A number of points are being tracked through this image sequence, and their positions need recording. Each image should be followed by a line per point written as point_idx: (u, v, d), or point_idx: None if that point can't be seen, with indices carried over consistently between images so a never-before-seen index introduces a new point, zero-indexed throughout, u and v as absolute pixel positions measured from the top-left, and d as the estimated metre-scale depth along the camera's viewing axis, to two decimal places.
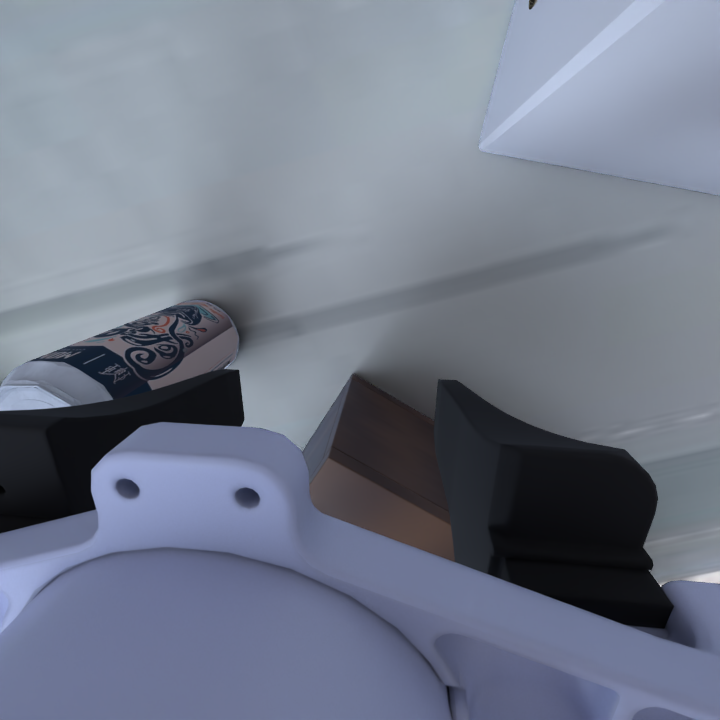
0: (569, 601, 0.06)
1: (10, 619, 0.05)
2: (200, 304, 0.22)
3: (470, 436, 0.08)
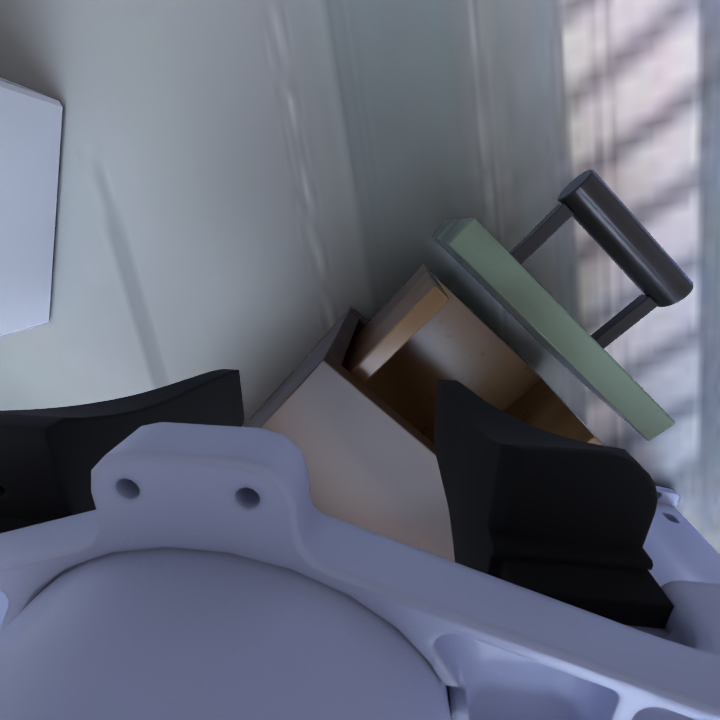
0: (569, 601, 0.06)
1: (10, 618, 0.05)
2: None
3: (470, 436, 0.08)
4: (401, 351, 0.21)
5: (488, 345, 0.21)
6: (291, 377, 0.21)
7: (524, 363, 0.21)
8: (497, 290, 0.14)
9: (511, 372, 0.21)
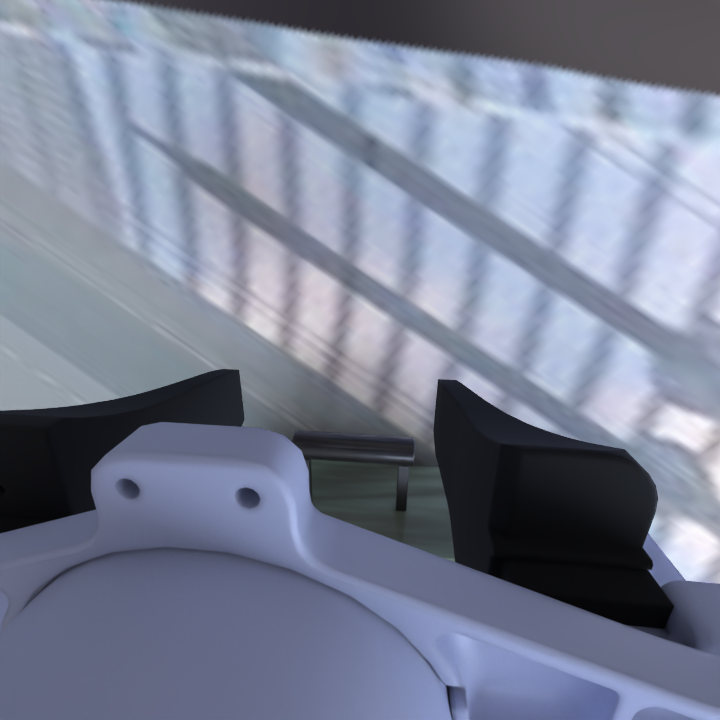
0: (569, 601, 0.06)
1: (10, 618, 0.05)
2: None
3: (470, 436, 0.08)
4: None
5: None
6: None
7: None
8: None
9: None
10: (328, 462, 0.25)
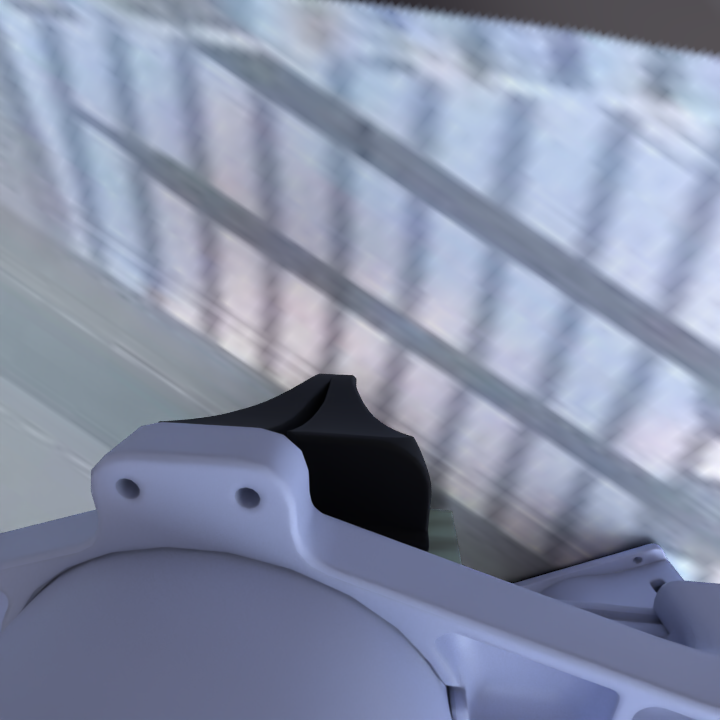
0: None
1: (10, 618, 0.05)
2: None
3: None
4: None
5: None
6: None
7: None
8: None
9: None
10: None
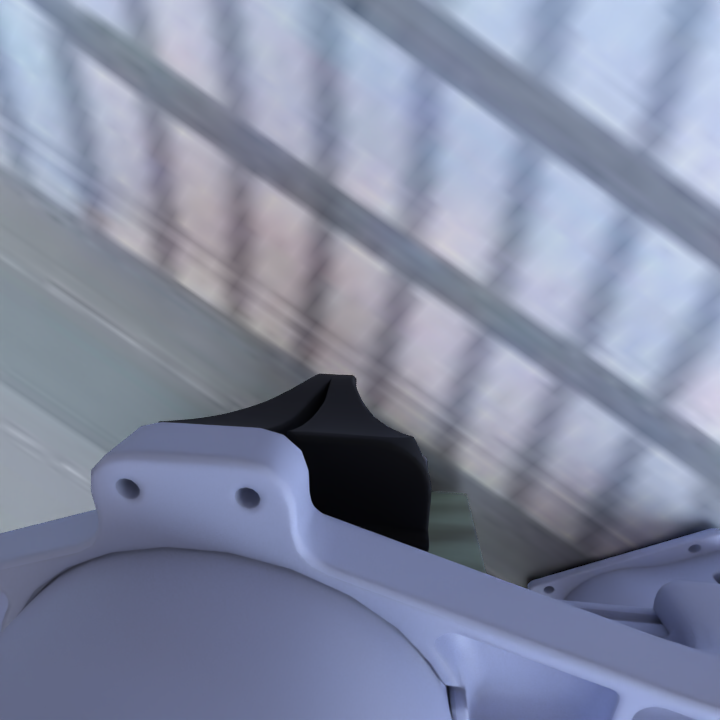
0: None
1: (10, 619, 0.05)
2: None
3: None
4: None
5: None
6: None
7: None
8: None
9: None
10: None
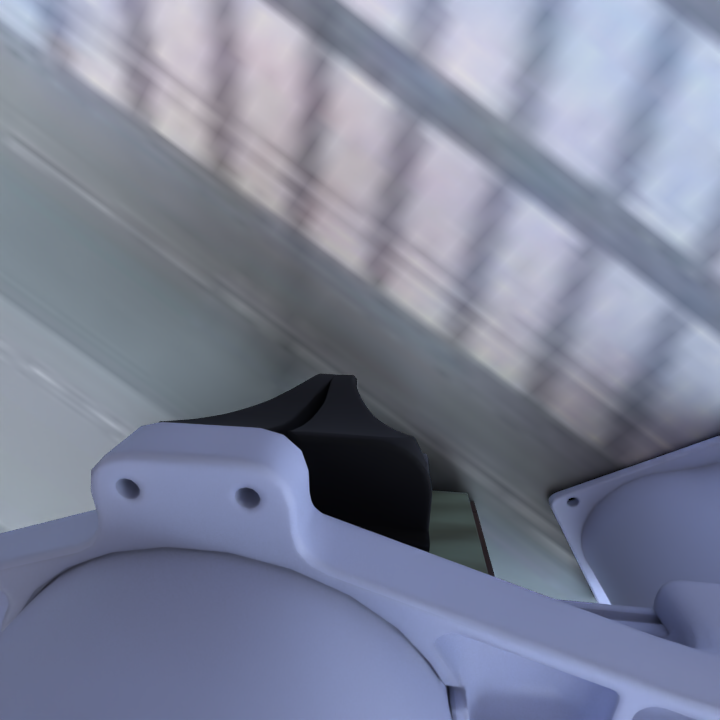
0: None
1: (10, 618, 0.05)
2: None
3: None
4: None
5: None
6: None
7: None
8: None
9: None
10: None
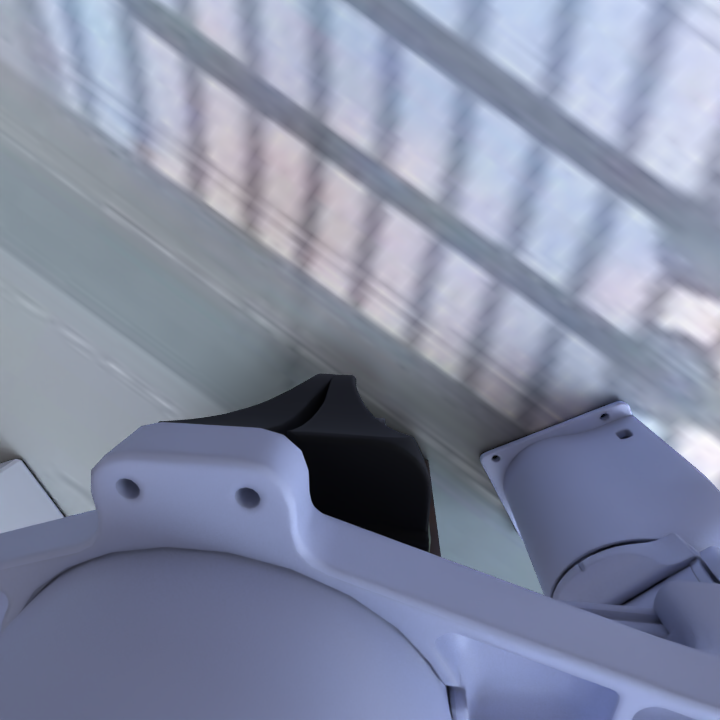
0: None
1: (10, 619, 0.05)
2: None
3: None
4: None
5: None
6: None
7: None
8: None
9: None
10: None
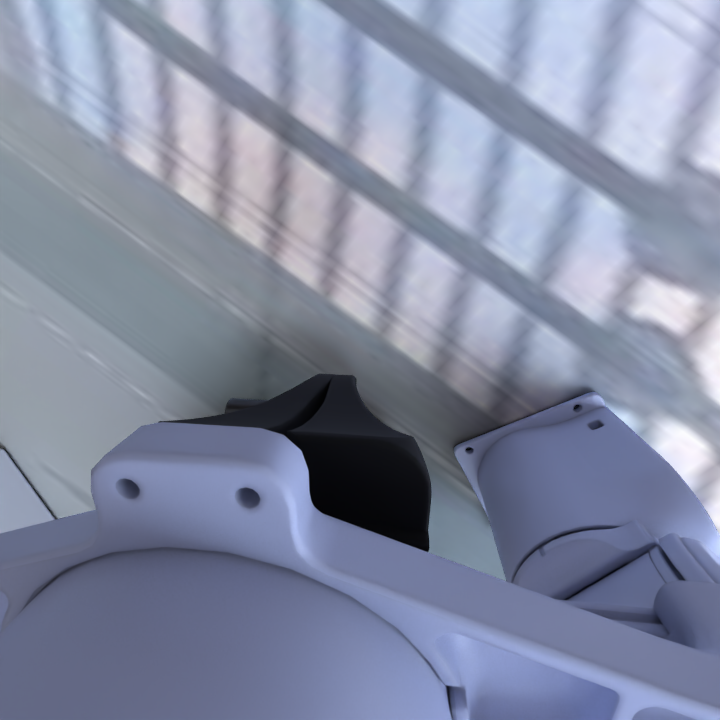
0: None
1: (10, 618, 0.05)
2: None
3: None
4: None
5: None
6: None
7: None
8: None
9: None
10: None
